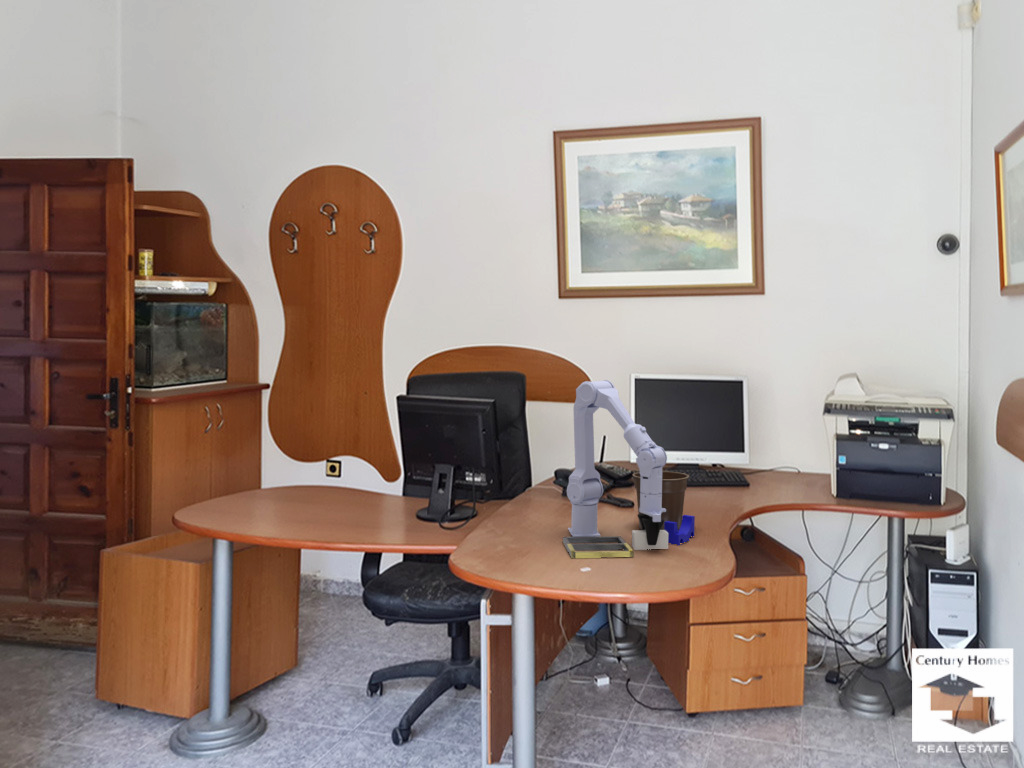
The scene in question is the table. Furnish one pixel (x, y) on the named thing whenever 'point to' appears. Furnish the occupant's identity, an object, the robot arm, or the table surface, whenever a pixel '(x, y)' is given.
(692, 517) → the cable clip
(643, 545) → the white banded pillar
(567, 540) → the rack
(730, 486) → the table surface
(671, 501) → the plant pot
